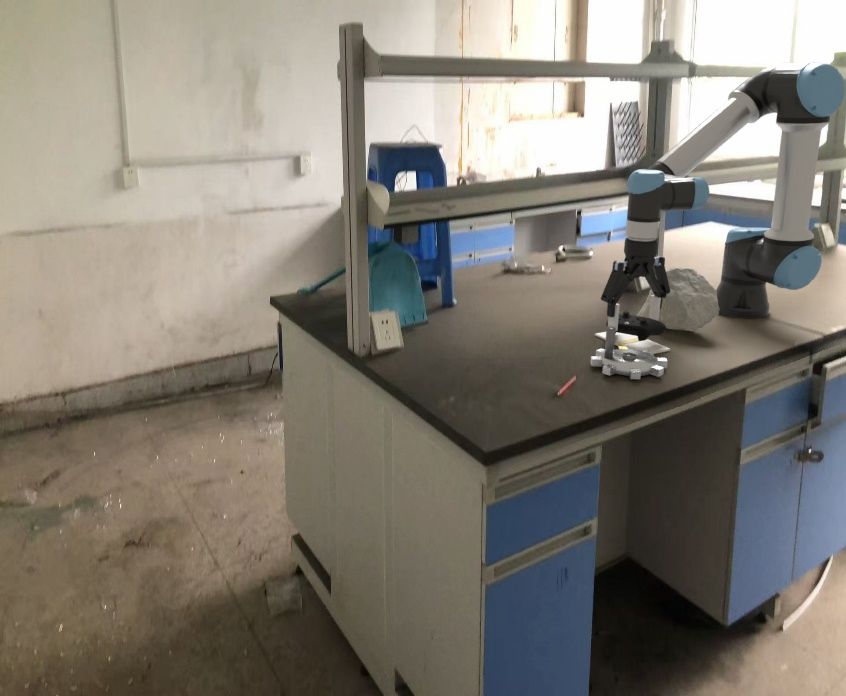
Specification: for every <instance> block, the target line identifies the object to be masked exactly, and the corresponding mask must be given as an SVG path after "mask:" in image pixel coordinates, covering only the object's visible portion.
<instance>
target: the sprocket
mask: <svg viewBox="0 0 846 696" xmlns="http://www.w3.org/2000/svg"><path fill="white" fill-rule="evenodd" d="M605 332H606V340H604V343H605V344H604V348H599V349H596V350H595V356H591V357H590V365H591V366H592V367H600V368H602V374H604V375H607V376H612V375H615V374H616V375H621V376H627V377H629V379H630V380H641V376H642V377H643V376H648V375H652V376H655V377H661V376H663V375H664V373H665V369H667V368H668V359H667V357H656V356H655V354H654V351H650V350H647V349H646V350H643V351H639V350H632V349H628V347H627V346H617V347H618V348H616V349H615V345H614V344H615V333H616V328H615V327H607V326H606V331H605Z"/></svg>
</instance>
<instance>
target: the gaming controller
mask: <svg viewBox="0 0 846 696" xmlns="http://www.w3.org/2000/svg"><path fill="white" fill-rule="evenodd" d="M605 325H606V328H607V327H608V319H607V320H606V324H605ZM616 332H618V333H623V334H629V335H634V336H638V340H639V341H644V340H646V339H649V337H651V336H654V337H655V336H656V337H657V336H662V335H663V334H665V333H666V332H667V328H666V326H665V324H664V323H662V322H660V321H657V320H654V319H651V318H646V317H640V316H637V315H634V314H633V315H632V314H630V312H629V311H628V310H627V311H626V310H625V311H623V312H622V313H619V318H618V329H617V331H616ZM615 334H616V333H615Z"/></svg>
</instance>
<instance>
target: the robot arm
mask: <svg viewBox="0 0 846 696" xmlns="http://www.w3.org/2000/svg"><path fill="white" fill-rule="evenodd" d="M845 85H846V84H845V79H844V77H843V74H842V73H841V72H840V71H839V70H838V68H836V67H835V66H834V65H832V64H829V63H821V62H815V61H814V62H794V63H793V62H780V63H779V62H778V63H775V64H772V65H768V66H767V67H765V68H763V69H761V70H759V71H758V72H756V73H754V74H753V75H751V76H750V77H748V78H746V80H744V82H742V83H740V84H739V85H738V86H737V87H736V88H735V89H734V90H732V91H731V92H730V93H729V94H728V96H727V97H728V98H727V101H726V102H724V104H722V105H721V106H719V108H718V109H716V110H715V111H714V112H712V114H710V115H709V116H708V117H706V118H705V120H704V121H702V122H701V123H700V124H698V125H697V127H695V128H694V129H693V130H691V131H690V133H688V134H687V135H685V137H684V138H682V139H681V140H680V141H679V142H678V143H677V144H676V145H674V146H673V147H672V148H671V149H669V150H668V151H667V152H666V153H665V154H664V155H662V156H661V157H660V158H659V159H657V160H656V161H655V162H654V163H653V164H652V165H650V166H649V167H648V168H641V169H636V170H634V171H633V172H631V174H630V175H628V176H629V177H628V178H627V181H626V182H627V183H626V188H627V192H628V200H627V201H628V202H627V212H626V213H627V214H626V222H625V223H626V225H625V233H624V234H625V236H626V238H625V239H624V244H623V245H624V246H623V252H624V256H625V258H624V260H623V261H618V260H614V261H613V262H612V269H611V272H610V275H609V277H608V280H607V283H606V284H605V286H604V289H603V292H602V295H601V297H600V300H601V301H603V302H605V303H607V310H606V316H607V320H608V327H615V328H616V331H617V329H618V318H619V314H620V304H619V303H618V302H619V301H620V299H621V297H622V296H623V294H624V293H625V292H626V290H627V288H628V287H629V285H630V284H631V282H633V281H634V280H635V279H639V278H641V277H642V278H645V281H646V283H647V284H648V286H649V288H650V289H652V291H653V293H654V295H655V296H654V295H652V296H651V299H650V309H649V318H651V319H654V320H657V321H659V311H660V309H661V307H662V298H665V297H666V296H667V294H669V293H670V287H669V283H668V279H667V274H666V270H667V269H666V266H665V263H666V258H665V257H664V256H661V255H658V245H659V240H658V238H659V234H660V226H661V225H660V224H661V217H662V216H661V215H662V212H674V211H675V212H676V211H693V210H699V209H702V208H703V207H705V206H706V205H707V203H708V200H709V198H710V197H709V196H710V187H709V183H708V181H706V179H704V178H703V177H699V176H695V177H694V176H690V177H686V176H688V174H690V173H691V172H692V171H694V169H696V168H697V167H698V166H700V164H701V163H703V161H705V160H706V159H708V158H709V157H710V156H711V155H712V154H714V153H715V152H716V151H717V150H718V149H719V148H721V147H722V146H723V145H724V144H725V143H726V142H727V141H728V140H729V139H731V138H732V137H733V136H734V135H736V134H738V132H739V131H740V130H741V129H743V128H744V127H745V126H746V125H747V124H755V123H756V122H758V121H759V120H760V119H761V118H762V117H764V116H766V115H770V114H774V113H776V117H775V118H776V119H775V124H776V125H777V126H778V127H779V128H780V130H781V136H780V137H781V138H780V145H779V153H778V163H777V172H776V181H775V190H774V199H773V205H772V207H773V208H772V216H771V224H770V226H771V227H738V228H732V229H730V230H729V231H728V232H727V234H726V239H725V242H724V249H723V250H724V251H723V258H722V259H723V260H722V267H721V276H720V282H719V284H718V286H717V288H716V289H715V290H716V293H717V300H718V306H719V314H720V315H723V316H727V317H733V318H738V319H759V318H765V317H767V316H768V315H769V313H770V307H771V306H770V305H771V304H770V303H769V298H768V292H767V284H769V285H773V286H776V287H777V288H780V289H786V290H791V291H795V290H796V291H797V290H801V289H802V288H805V287H807V286H808V285H809V284H810V283H811V282H812V281H813V280H815V278H816V277H817V276H818V274H819V271H820V270H821V268H822V262H823V259H822V258H823V256H822V254H821V253H820V251H819V249H818V248H817V247H815V246H814V240H815V235H814V233H813V232H812V231H811V230H810V228H809V227H810V220H811V214H812V213H811V212H812V204H813V203H812V202H813V195H814V189H815V180H816V172H817V164H818V157H819V151H820V150H819V149H820V143H821V135H822V131H823V129H824V128H825V127H826V126H827V125H828V124H830V120H831V115H833V114H835V113H836V112H837V111H838V110H839V109H840V108H839V106H841V105H842V104H843V103H844V99H845V95H846V86H845ZM653 267H654V268H653ZM719 314H718V315H719Z"/></svg>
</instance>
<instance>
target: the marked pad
mask: <svg viewBox="0 0 846 696" xmlns="http://www.w3.org/2000/svg"><path fill="white" fill-rule="evenodd" d="M594 336H595V337H596V338H597V337H598V338H599V339H601V340H604V341H606V331H602V332H596V333H594ZM614 346H617V347H618V346H627V347H628V349H632V350H639V351H643V350H646V349H647V350H650V351H654V355H655V354H660V353H665V352H671V348H670V347H667V346H666V345H665V346H664V345H662V344H660V343H657V342H656V341H654V340H653V341H652V340H650V339H649V338H647V339H646V340H644V341H639V340H638V336H634V335H629V334H623V333H618V332H616V334H615V344H614Z"/></svg>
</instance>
